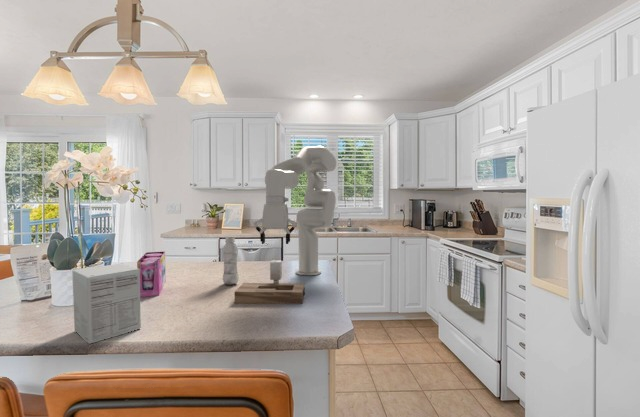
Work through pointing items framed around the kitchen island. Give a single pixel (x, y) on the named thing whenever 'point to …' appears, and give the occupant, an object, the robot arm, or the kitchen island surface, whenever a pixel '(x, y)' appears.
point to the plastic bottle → (230, 262)
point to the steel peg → (276, 270)
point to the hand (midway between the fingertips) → (275, 243)
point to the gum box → (152, 273)
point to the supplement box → (106, 301)
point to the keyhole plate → (270, 293)
